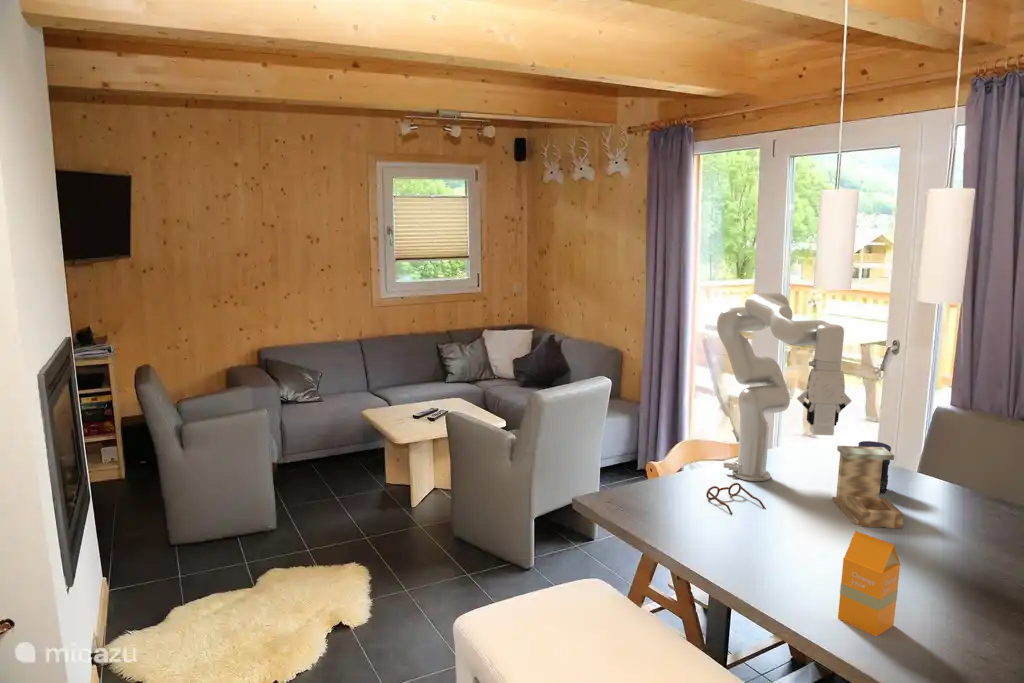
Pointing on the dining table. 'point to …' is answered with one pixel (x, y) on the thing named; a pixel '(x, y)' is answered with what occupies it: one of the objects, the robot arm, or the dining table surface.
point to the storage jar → (884, 465)
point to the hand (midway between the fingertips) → (822, 423)
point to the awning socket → (865, 487)
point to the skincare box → (823, 419)
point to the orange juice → (869, 584)
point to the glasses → (730, 494)
